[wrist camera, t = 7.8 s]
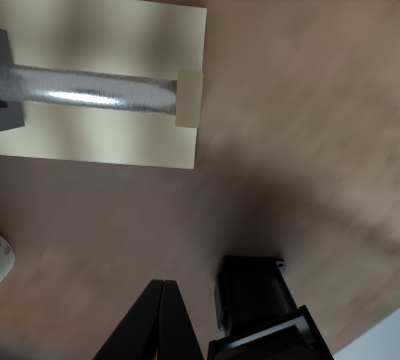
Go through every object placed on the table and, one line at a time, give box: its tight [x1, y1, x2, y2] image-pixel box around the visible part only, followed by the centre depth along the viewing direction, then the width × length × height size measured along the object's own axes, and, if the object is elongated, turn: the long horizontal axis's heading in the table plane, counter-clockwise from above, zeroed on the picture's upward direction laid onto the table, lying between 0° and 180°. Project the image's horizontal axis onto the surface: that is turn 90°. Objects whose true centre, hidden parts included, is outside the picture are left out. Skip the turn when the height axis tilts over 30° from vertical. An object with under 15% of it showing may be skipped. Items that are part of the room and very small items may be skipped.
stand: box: [0, 0, 207, 169], centre depth 14 cm, size 18×11×5 cm, turn 85°
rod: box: [0, 63, 177, 116], centre depth 13 cm, size 18×2×2 cm, turn 85°
